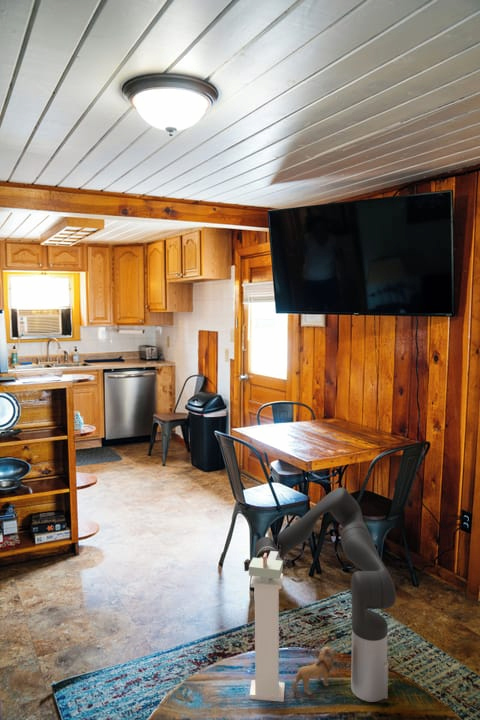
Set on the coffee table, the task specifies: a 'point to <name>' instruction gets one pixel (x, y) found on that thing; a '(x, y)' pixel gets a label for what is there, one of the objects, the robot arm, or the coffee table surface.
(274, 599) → the stand
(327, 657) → the lion figurine
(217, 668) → the coffee table surface
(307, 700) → the coffee table surface
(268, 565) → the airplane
